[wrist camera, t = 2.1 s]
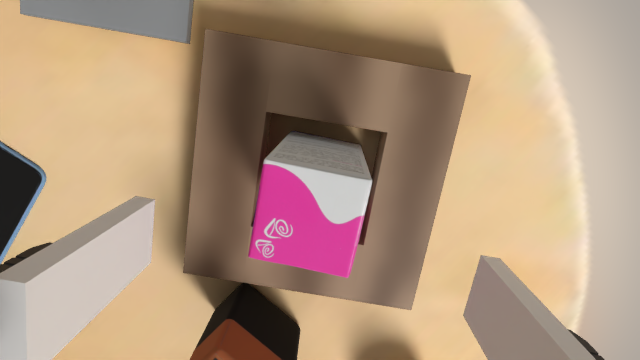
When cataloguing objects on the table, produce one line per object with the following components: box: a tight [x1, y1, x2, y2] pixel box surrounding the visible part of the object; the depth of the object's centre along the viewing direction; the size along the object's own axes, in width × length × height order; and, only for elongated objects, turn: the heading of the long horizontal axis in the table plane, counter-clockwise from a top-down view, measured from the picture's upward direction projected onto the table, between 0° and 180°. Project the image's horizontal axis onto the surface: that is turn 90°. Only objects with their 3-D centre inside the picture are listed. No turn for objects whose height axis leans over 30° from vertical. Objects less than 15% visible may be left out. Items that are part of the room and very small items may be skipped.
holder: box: [183, 29, 471, 310], centre depth 29 cm, size 18×18×3 cm
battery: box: [190, 283, 300, 360], centre depth 29 cm, size 4×7×10 cm, turn 46°
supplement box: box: [248, 131, 372, 278], centre depth 25 cm, size 6×6×12 cm
